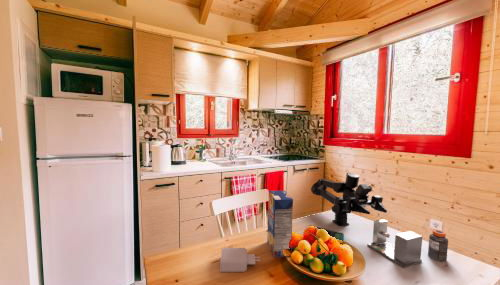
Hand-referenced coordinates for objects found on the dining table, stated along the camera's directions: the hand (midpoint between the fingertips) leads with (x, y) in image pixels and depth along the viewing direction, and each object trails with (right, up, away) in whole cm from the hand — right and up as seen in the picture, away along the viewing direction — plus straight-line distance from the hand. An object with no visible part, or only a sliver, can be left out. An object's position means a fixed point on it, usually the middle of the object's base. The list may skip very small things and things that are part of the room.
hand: (378, 212), depth 96 cm
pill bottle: (+21, -17, -6) cm, 28 cm away
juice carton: (-44, -16, -1) cm, 47 cm away
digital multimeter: (-19, -16, +10) cm, 26 cm away
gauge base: (+4, -16, -3) cm, 17 cm away
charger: (-60, -16, -13) cm, 64 cm away
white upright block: (+1, -15, +1) cm, 15 cm away
